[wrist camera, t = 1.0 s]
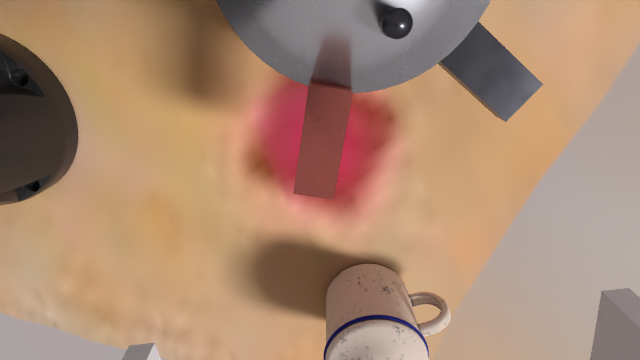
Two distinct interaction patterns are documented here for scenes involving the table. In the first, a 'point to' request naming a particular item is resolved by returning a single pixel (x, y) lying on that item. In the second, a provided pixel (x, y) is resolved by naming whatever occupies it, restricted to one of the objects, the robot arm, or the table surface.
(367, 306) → the teacup with lid
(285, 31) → the lid
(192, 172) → the table surface
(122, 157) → the table surface
